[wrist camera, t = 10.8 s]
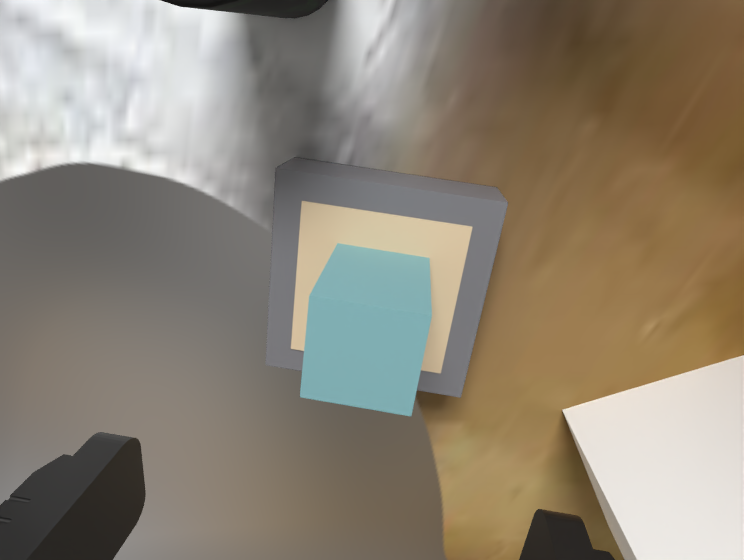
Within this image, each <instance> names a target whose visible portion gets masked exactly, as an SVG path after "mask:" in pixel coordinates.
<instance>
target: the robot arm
mask: <svg viewBox="0 0 744 560" xmlns="http://www.w3.org/2000/svg"><path fill="white" fill-rule="evenodd" d="M144 502H145V484H144V474H143V464H142V454H141V446H140V442H139V440H138V439H136V438H132V437H126V436H120V435H115V434H109V433H103V432H99V433H96V434H95V435H93V436H92V437H91V438H90V439H89V440H88V441H87V442H86V443H85V444H84V445H83V446H82V447H81V448H80V449H79V450H78V451H77V452H76V453H75V454H74V455H73V456H70V455H62V456H60V457H58V458H57V459H55V460H53V461H52V462H50V463H48V464H47V465H45V466H43V467H42V468H40V469H38V470H37V471H35V472H34V473H32V474H31V476H29V477H28V478H27V480H25V481H24V482H23V484H21V485H20V486H19V487H18V488H17V489H16V490H15V491H14V492H13V493H12V494H11V495H10V498H9V500H5V501H4V502H3V503H2V504H1V505H0V560H113V558H114V557H115V555H116V554H117V552H118V551H119V549H120V548H121V546H122V545H123V543H124V542H125V540H126V539H127V537H128V536H129V534H130V533H131V531H132V529H133V528H134V527H135V525H136V523H137V522H138V520H139V517H140V515H141V512H142V509H143V506H144ZM519 560H615V559H614V558H613V557H612V555H611V554H610V553H609V552H606V551H600V550H594V549H593V548H592V545H591V542H590V539H589V536H588V534H587V531H586V528H585V525H584V523H583V521H582V519H581V518H580V517H579V516H576V515H571V514H565V513H559V512H553V511H547V510H542V509H538V510H537V511H536V512H535V514H534V517H533V520H532V523H531V526H530V529H529V532H528V535H527V538H526V541H525V544H524V547H523V550H522V553H521V556H520V559H519Z"/></svg>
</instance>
